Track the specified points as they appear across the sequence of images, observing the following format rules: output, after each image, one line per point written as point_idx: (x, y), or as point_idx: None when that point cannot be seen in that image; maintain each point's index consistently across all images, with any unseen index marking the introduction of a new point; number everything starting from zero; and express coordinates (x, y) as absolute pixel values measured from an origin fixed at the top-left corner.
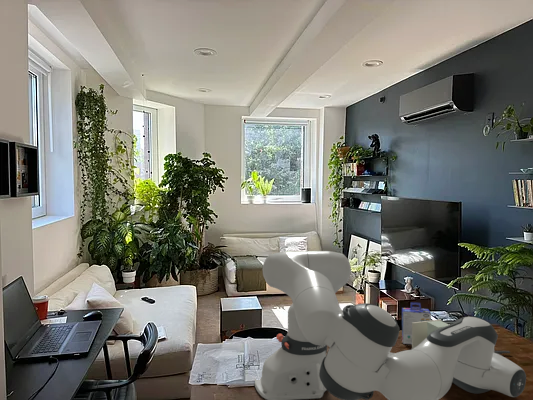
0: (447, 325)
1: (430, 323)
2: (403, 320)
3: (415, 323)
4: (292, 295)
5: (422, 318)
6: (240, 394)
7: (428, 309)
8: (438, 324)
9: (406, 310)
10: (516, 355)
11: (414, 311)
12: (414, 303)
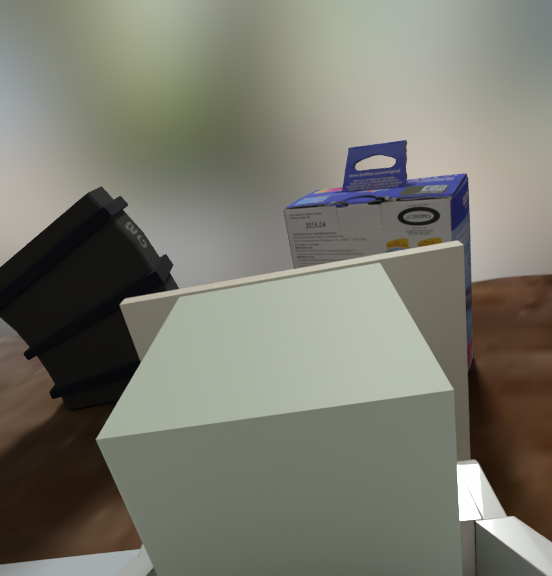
0: (370, 376)
1: (164, 322)
2: (293, 260)
3: (146, 305)
4: None
5: (395, 239)
6: None
7: (463, 175)
8: (239, 344)
9: (308, 199)
10: None
11: (346, 199)
12: (369, 150)
